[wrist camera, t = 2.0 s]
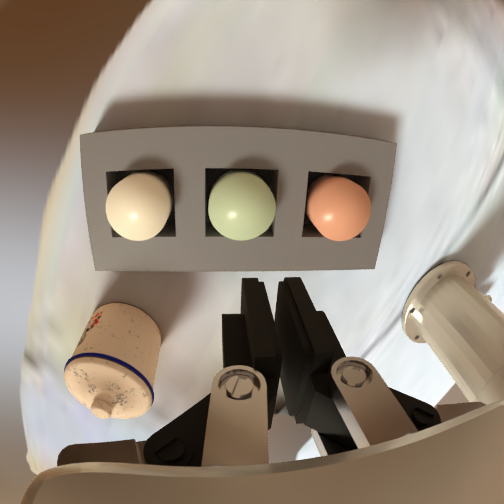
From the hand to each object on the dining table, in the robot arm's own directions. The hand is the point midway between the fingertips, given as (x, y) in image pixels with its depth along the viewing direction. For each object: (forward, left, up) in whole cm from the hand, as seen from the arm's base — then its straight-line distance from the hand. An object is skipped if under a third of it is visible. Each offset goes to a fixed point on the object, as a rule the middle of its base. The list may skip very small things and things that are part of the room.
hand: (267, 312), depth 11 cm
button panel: (0, 0, -17) cm, 17 cm away
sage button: (0, 0, -16) cm, 16 cm away
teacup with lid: (+13, +17, -17) cm, 28 cm away
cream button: (+8, 0, -16) cm, 18 cm away
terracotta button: (-8, 0, -16) cm, 18 cm away
